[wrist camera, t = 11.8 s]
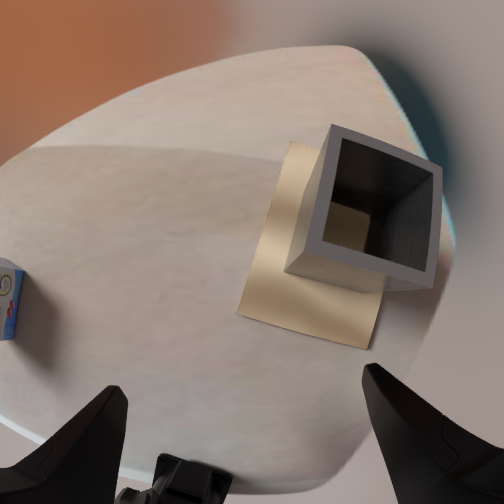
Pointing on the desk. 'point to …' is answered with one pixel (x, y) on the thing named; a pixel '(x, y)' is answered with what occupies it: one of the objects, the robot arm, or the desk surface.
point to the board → (299, 288)
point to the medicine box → (9, 297)
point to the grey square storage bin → (381, 215)
